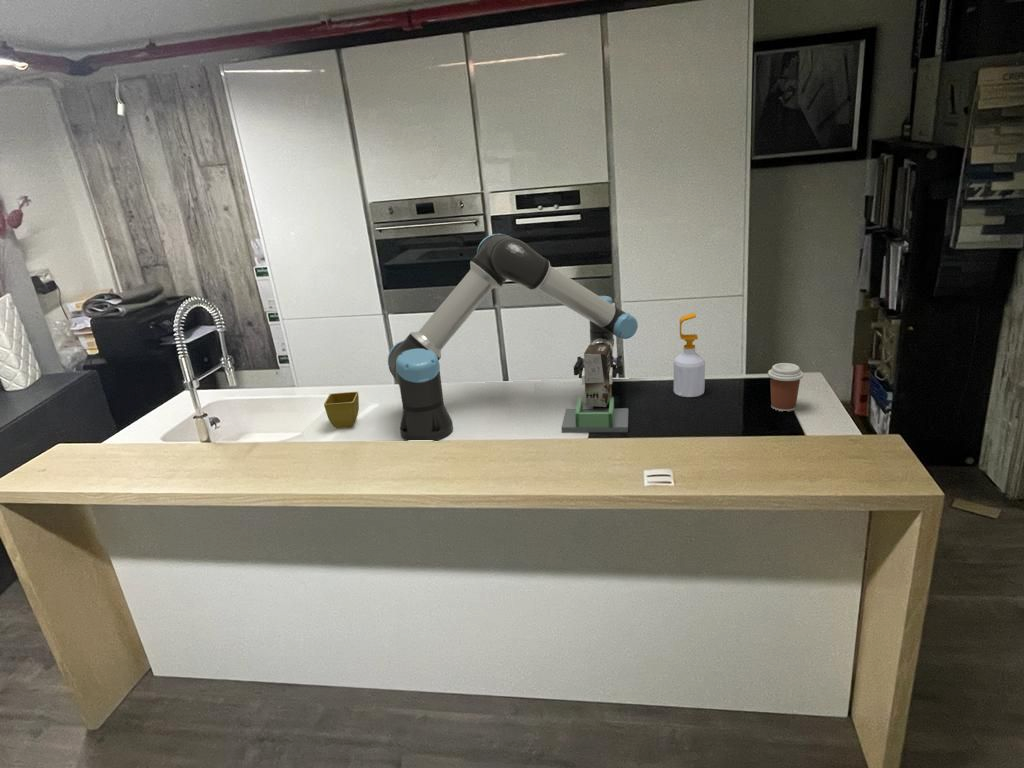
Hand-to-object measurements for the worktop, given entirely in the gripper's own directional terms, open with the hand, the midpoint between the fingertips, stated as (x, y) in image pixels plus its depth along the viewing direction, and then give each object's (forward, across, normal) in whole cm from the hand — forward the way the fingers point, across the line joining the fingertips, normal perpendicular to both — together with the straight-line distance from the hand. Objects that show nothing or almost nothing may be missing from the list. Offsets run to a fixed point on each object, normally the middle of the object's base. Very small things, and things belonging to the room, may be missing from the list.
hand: (596, 379), depth 191 cm
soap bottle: (-18, -27, -12) cm, 34 cm away
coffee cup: (-6, -52, -12) cm, 53 cm away
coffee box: (-5, 0, -9) cm, 10 cm away
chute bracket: (+4, 0, -11) cm, 12 cm away
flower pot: (+5, +76, -12) cm, 77 cm away
